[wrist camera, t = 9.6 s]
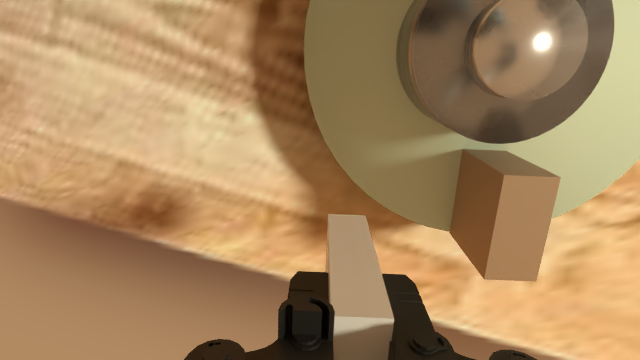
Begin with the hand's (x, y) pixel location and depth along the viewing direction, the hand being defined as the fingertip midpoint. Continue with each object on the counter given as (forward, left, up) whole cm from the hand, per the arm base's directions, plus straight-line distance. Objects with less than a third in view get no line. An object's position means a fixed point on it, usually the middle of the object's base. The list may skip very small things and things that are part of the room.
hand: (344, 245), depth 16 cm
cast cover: (+6, +8, -6) cm, 12 cm away
